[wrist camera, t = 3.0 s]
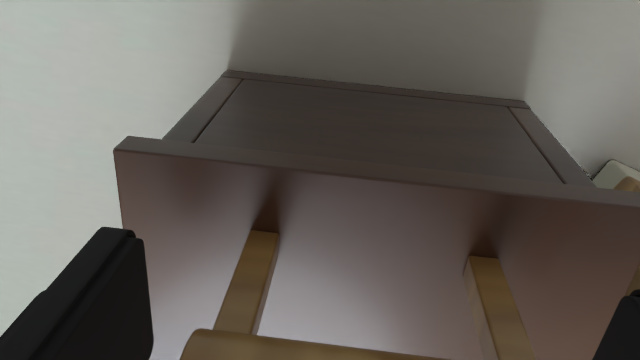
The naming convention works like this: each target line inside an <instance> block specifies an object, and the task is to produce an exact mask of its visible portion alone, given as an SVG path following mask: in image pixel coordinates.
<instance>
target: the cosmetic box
mask: <svg viewBox="0 0 640 360" xmlns="http://www.w3.org/2000/svg"><path fill="white" fill-rule="evenodd" d="M592 182H593V183H594V184H595V185H596V186H597V188H605V189H614V190H623V191H632V192H640V172H639V171H637V170H635V169H632V168H630V167H628V166H626V165H624V164H622V163H619V162H617V161H615V160H611V161H609V162H608V163H607V164H606V165H605V167H604V168H603V169H602V170H601V171H600V172H599V173H598V175H597V176H596V177H595V178H594V179H593V180H592ZM637 289H640V266H639V268H638V270H637V272H636V274H635V276H634V278H633V280H632V282H631V284H630V287H629V289H628V291H627V293H626V295H625V296H629V295H630V294H631V292H633V291H634V290H637Z"/></svg>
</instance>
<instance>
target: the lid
mask: <svg viewBox="0 0 640 360" xmlns="http://www.w3.org/2000/svg"><path fill="white" fill-rule="evenodd" d="M113 153H114V161H115V169H116V177H117V185H118V193H119V201H120V209H121V217H122V225H123V229H128V230H132V231H134V233H135V235H136V238H140V239H142V240H143V242H144V247H145V257H146V267H147V277H148V286H149V296H150V306H151V316H152V326H153V335H154V344H153V350H152V353H151V356H150V359H149V360H592V359H593V357H594V355H595V353H596V351H597V348H598V346H599V344H600V342H601V340H602V338H603V336H604V334H605V331H606V329H607V327H608V325H609V323H610V321H611V319H612V317H613V314H614V312H615V310H616V308H617V306H618V304H619V302H620V300H621V299H622V298H623V297H624V296H625V295H626V293H627V291H628V289H629V287H630V284H631V282H632V280H633V278H634V276H635V274H636V272H637V270H638V268H639V266H640V192H632V191H623V190H614V189H605V188H596V187H587V186H578V185H569V184H560V183H551V182H542V181H533V180H524V179H515V178H506V177H496V176H487V175H478V174H469V173H460V172H451V171H442V170H433V169H424V168H415V167H406V166H397V165H388V164H379V163H370V162H360V161H351V160H342V159H333V158H324V157H315V156H306V155H297V154H288V153H279V152H270V151H261V150H252V149H243V148H234V147H225V146H215V145H206V144H197V143H188V142H179V141H170V140H161V139H152V138H143V137H134V136H127V137H126V138H125V139H124V140H123V141H122V142H121V143H120V144H118V145H117V146H116V147H115V148H114V150H113Z"/></svg>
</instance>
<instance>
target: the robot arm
mask: <svg viewBox="0 0 640 360" xmlns="http://www.w3.org/2000/svg"><path fill="white" fill-rule="evenodd" d="M153 344H154V335H153V326H152V316H151V306H150V296H149V286H148V277H147V267H146V257H145V247H144V242H143V240H142V239H140V238H136V235H135V233H134V231H132V230H128V229H119V228H111V227H101V228H100V229H99V230H98V231H97V232H96V233H95V234H94V235H93V237H92V238H91V239H90V240H89V241H88V242H87V243H86V245H85V246H84V247H83V248H82V249H81V250H80V251H79V253H78V254H77V255H76V256H75V257H74V258H73V260H72V261H71V262H70V263H69V264H68V265H67V266H66V268H65V269H64V270H63V271H62V272H61V273H60V274H59V276H58V277H57V278H56V279H55V280H54V281H53V282H52V284H51V285H50V286H49V287H48V288H47V289H46V290H45V291H42V292H41V293H40V294H39V295H38V296H36V297H35V298H34V299H33V301H32V302H31V303H30V304H29V305H28V306H27V307H26V309H25V310H24V311H23V312H22V313H21V314H20V315H19V316H18V318H17V319H16V320H15V321H14V322H13V323H12V324H11V326H10V327H9V328H8V329H7V330H6V331H5V332H4V333H3V335H2V336H1V337H0V360H149V359H150V356H151V353H152V350H153ZM592 360H640V289H637V290H634V291H633V292H631V294H630V295H629V296H624V297H623V298H622V299H621V300H620V302H619V304H618V306H617V308H616V310H615V312H614V314H613V317H612V319H611V321H610V323H609V325H608V327H607V329H606V331H605V334H604V336H603V338H602V340H601V342H600V344H599V346H598V348H597V351H596V353H595V355H594V357H593V359H592Z"/></svg>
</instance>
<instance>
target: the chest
mask: <svg viewBox="0 0 640 360" xmlns="http://www.w3.org/2000/svg"><path fill="white" fill-rule="evenodd" d="M162 140H170V141H179V142H188V143H197V144H206V145H215V146H225V147H234V148H243V149H252V150H261V151H270V152H279V153H288V154H297V155H306V156H315V157H324V158H333V159H342V160H351V161H360V162H370V163H379V164H388V165H397V166H406V167H415V168H424V169H433V170H442V171H451V172H460V173H469V174H478V175H487V176H496V177H506V178H515V179H524V180H533V181H542V182H551V183H560V184H569V185H578V186H587V187H596V188H597V186H596V185H595V184H594V183H593V182H592V181H591V179H590V178H589V177H588V176H587V175H586V174H585V172H584V171H583V170H582V169H581V168H580V167H579V165H578V164H577V163H576V162H575V161H574V160H573V158H572V157H571V156H570V155H569V154H568V152H567V151H566V150H565V149H564V148H563V147H562V145H561V144H560V143H559V142H558V141H557V140H556V138H555V137H554V136H553V135H552V134H551V133H550V131H549V130H548V129H547V128H546V127H545V126H544V124H543V123H542V122H541V121H540V120H539V119H538V117H537V116H536V115H535V114H534V113H533V112H532V110H531V108H530V107H529V106H528V105H527V104H526V103H525V102H524V101H517V100H507V99H498V98H488V97H478V96H469V95H459V94H450V93H440V92H431V91H421V90H411V89H402V88H392V87H383V86H373V85H363V84H354V83H344V82H335V81H325V80H316V79H306V78H296V77H287V76H277V75H268V74H258V73H248V72H239V71H229V70H226V71H225V72H224V73H223V74H222V75H221V77H220V78H219V79H218V80H217V81H216V82H215V83H214V84H213V85H212V86H211V87H210V88H209V90H208V91H207V92H206V93H205V94H204V95H203V96H202V97H201V98H200V99H199V100H198V101H197V102H196V103H195V104H194V105H193V107H192V108H191V109H190V110H189V111H188V112H187V113H186V114H185V115H184V116H183V117H182V118H181V119H180V120H179V121H178V123H177V124H176V125H175V126H174V127H173V128H172V129H171V130H170V131H169V132H168V133H167V134H166V135H165V136H164V137H163V138H162Z"/></svg>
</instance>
